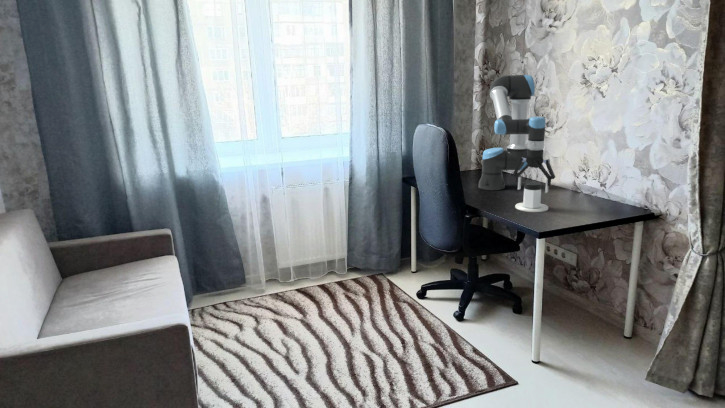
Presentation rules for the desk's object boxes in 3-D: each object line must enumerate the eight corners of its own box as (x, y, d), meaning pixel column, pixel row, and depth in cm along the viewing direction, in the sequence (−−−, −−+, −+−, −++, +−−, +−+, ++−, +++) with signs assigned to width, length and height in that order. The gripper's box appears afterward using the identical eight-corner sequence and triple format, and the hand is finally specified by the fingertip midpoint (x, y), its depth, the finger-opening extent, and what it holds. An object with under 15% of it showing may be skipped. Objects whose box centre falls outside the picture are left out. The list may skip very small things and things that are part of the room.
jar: (541, 208, 245) (542, 185, 242) (524, 208, 247) (525, 185, 244) (538, 204, 254) (540, 181, 251) (522, 203, 255) (523, 181, 252)
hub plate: (509, 205, 257) (509, 203, 256) (537, 202, 259) (537, 201, 259) (525, 213, 241) (525, 211, 241) (554, 210, 244) (554, 209, 244)
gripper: (507, 148, 246) (505, 189, 252) (560, 152, 233) (556, 195, 239) (512, 146, 252) (510, 186, 258) (563, 149, 239) (560, 191, 244)
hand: (532, 190), depth 248 cm, fingers open, 13 cm apart
